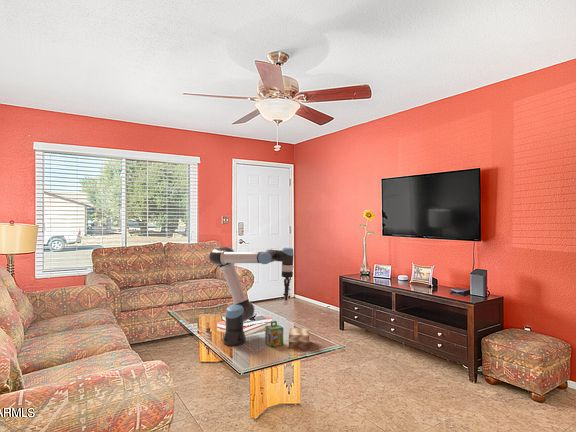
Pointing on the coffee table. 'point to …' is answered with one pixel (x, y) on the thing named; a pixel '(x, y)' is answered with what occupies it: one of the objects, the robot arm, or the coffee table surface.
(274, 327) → the chalk box
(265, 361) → the coffee table surface
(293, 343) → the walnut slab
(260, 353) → the coffee table surface
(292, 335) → the birch slab
